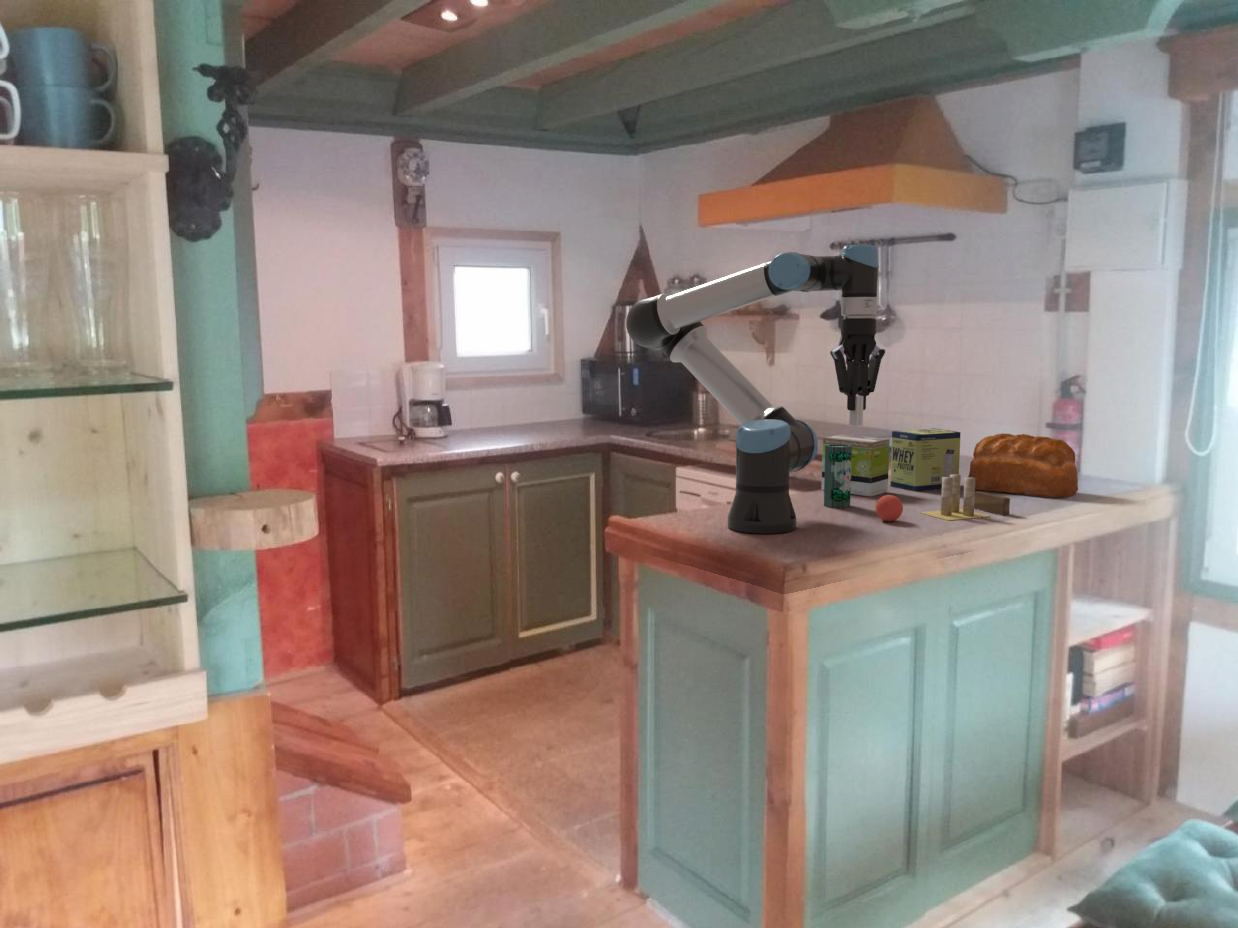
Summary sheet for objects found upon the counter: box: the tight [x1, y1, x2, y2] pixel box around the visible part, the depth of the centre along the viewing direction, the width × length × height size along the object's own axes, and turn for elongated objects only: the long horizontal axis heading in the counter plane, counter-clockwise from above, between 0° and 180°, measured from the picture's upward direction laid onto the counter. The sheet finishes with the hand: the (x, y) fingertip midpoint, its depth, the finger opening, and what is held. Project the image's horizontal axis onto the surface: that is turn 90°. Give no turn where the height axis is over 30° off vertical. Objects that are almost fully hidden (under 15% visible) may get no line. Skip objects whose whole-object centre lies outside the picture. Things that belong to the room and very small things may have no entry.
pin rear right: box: [962, 476, 976, 516], centre depth 226 cm, size 2×2×9 cm
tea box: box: [821, 434, 891, 497], centre depth 260 cm, size 15×10×15 cm
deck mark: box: [919, 508, 991, 522], centre depth 228 cm, size 12×10×1 cm
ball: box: [875, 494, 904, 522], centre depth 221 cm, size 6×6×6 cm
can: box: [823, 444, 852, 509], centre depth 240 cm, size 6×6×15 cm
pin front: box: [940, 477, 953, 516], centre depth 227 cm, size 2×2×9 cm
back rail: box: [974, 491, 1011, 516], centre depth 231 cm, size 2×10×4 cm, turn 21°
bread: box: [967, 433, 1079, 499], centre depth 259 cm, size 14×26×16 cm, turn 47°
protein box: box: [890, 428, 962, 493], centre depth 267 cm, size 10×16×16 cm
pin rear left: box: [950, 474, 962, 513], centre depth 230 cm, size 2×2×9 cm
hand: (856, 425), depth 215 cm, fingers closed
